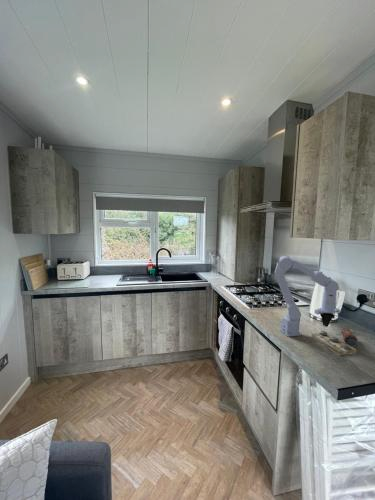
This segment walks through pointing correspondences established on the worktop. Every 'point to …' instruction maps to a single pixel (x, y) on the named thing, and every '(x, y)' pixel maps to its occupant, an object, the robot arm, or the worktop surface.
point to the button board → (333, 344)
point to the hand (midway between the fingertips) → (325, 325)
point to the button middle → (334, 339)
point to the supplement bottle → (349, 337)
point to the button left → (323, 333)
